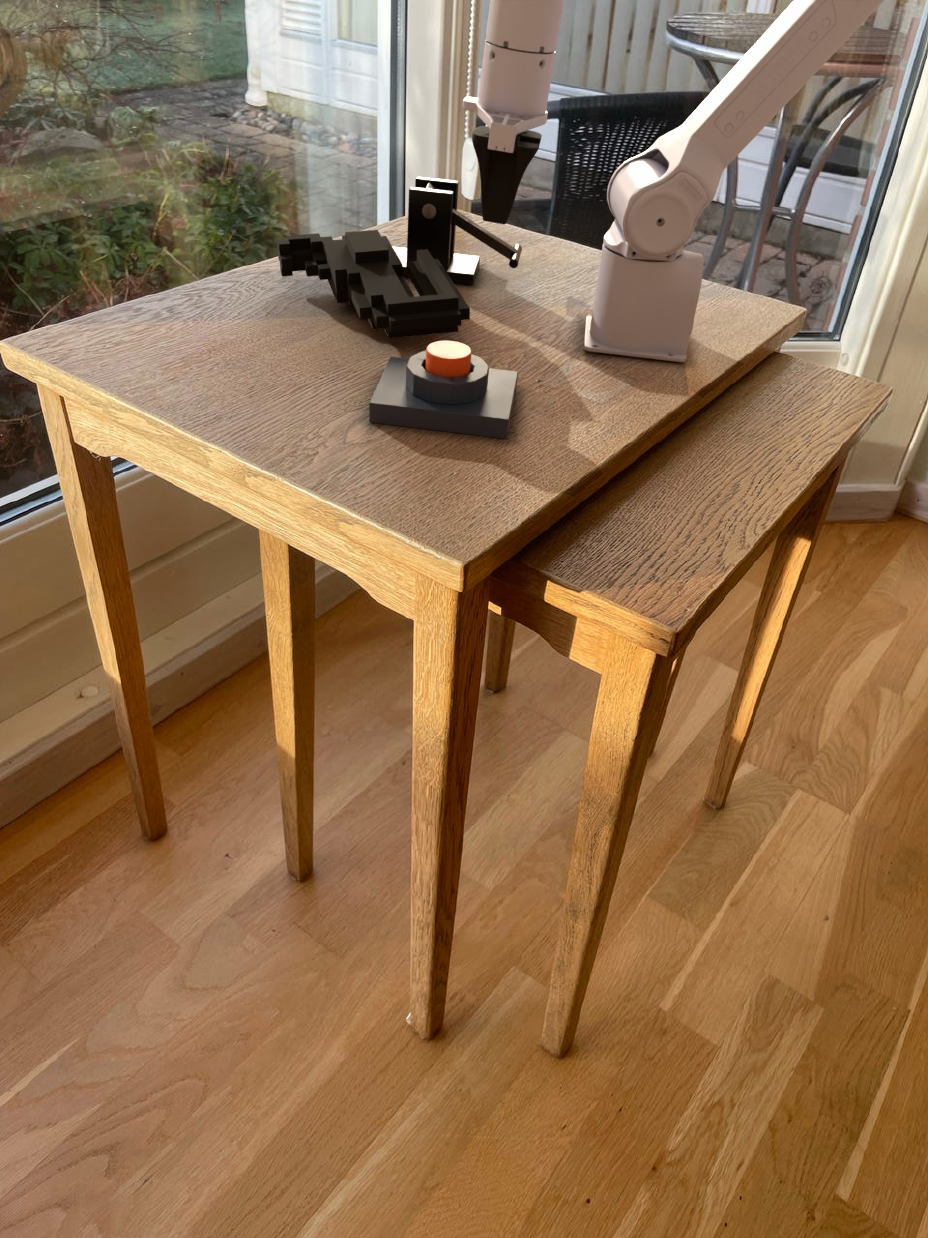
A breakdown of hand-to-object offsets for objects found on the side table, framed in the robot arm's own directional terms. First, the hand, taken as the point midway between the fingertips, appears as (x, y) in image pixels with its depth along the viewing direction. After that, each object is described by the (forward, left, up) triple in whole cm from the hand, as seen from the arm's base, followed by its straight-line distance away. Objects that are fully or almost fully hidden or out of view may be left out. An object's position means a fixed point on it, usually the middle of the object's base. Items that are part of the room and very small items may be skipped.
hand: (494, 220), depth 87 cm
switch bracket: (+8, -15, -10) cm, 20 cm away
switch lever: (+4, -15, -6) cm, 17 cm away
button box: (+2, +16, -10) cm, 19 cm away
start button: (+2, +16, -7) cm, 17 cm away
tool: (+12, -2, -10) cm, 16 cm away
